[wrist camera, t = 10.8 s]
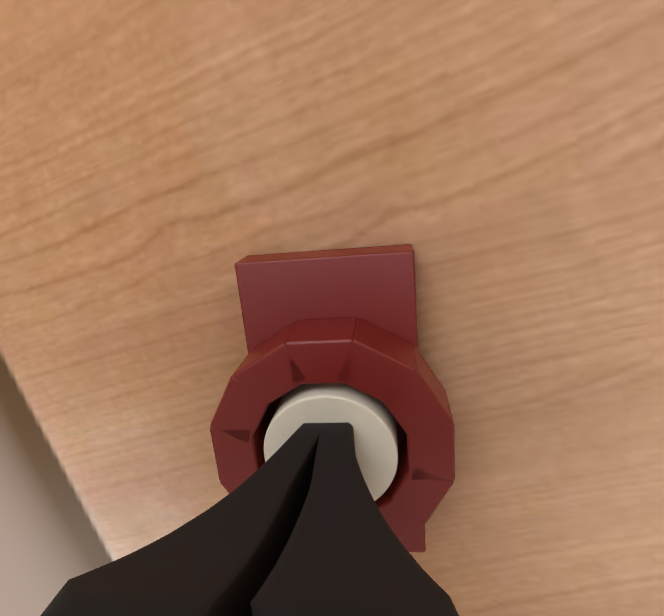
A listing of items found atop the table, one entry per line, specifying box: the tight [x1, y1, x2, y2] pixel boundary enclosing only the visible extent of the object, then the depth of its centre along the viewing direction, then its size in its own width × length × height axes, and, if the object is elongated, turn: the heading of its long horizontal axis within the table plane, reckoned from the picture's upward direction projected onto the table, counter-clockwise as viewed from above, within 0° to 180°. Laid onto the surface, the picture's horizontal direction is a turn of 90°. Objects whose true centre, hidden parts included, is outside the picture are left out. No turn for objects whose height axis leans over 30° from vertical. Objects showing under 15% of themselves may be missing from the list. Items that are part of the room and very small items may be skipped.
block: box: [210, 244, 455, 552], centre depth 14 cm, size 10×6×3 cm, turn 5°
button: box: [264, 383, 398, 501], centre depth 13 cm, size 4×4×2 cm
